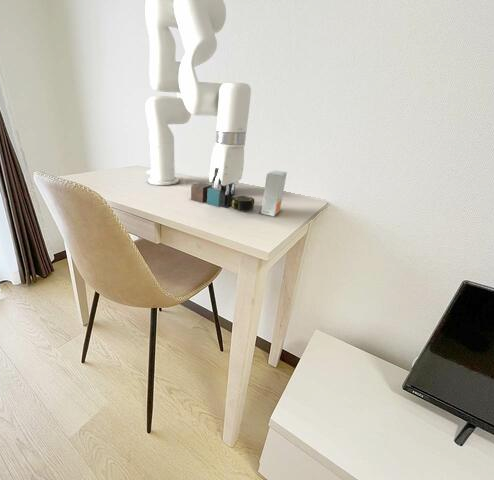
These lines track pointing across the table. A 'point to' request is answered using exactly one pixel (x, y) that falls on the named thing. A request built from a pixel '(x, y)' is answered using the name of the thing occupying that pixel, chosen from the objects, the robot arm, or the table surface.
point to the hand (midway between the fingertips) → (224, 206)
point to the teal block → (213, 197)
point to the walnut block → (199, 192)
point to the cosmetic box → (273, 192)
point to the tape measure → (242, 203)
